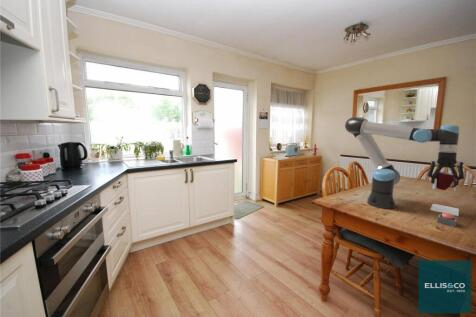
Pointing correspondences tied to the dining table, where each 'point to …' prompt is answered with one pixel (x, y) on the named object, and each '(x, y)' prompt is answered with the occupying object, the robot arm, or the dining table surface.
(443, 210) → the paper
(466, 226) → the dining table surface
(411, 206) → the dining table surface
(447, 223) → the button housing
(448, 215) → the button
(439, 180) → the mug
